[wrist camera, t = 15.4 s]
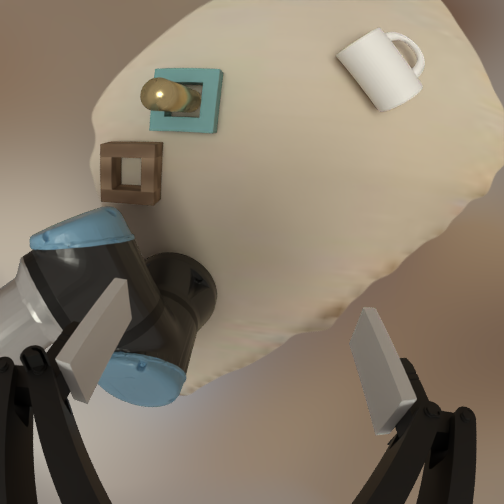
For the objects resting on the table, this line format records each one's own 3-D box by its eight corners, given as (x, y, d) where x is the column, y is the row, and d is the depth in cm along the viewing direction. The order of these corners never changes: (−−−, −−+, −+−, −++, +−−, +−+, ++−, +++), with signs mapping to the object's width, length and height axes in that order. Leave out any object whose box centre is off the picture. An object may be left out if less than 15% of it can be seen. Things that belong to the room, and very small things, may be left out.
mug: (371, 112, 38) (393, 112, 31) (329, 59, 35) (344, 48, 28) (423, 75, 34) (449, 71, 27) (385, 24, 31) (406, 11, 24)
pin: (199, 113, 39) (171, 111, 26) (176, 112, 39) (139, 110, 26) (202, 89, 37) (175, 77, 25) (178, 88, 37) (142, 78, 25)
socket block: (216, 132, 40) (212, 133, 37) (157, 129, 40) (149, 130, 37) (223, 73, 36) (219, 69, 33) (163, 72, 36) (155, 68, 33)
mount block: (160, 199, 45) (153, 205, 42) (111, 195, 45) (101, 201, 41) (163, 142, 41) (155, 144, 38) (111, 141, 41) (100, 144, 38)
